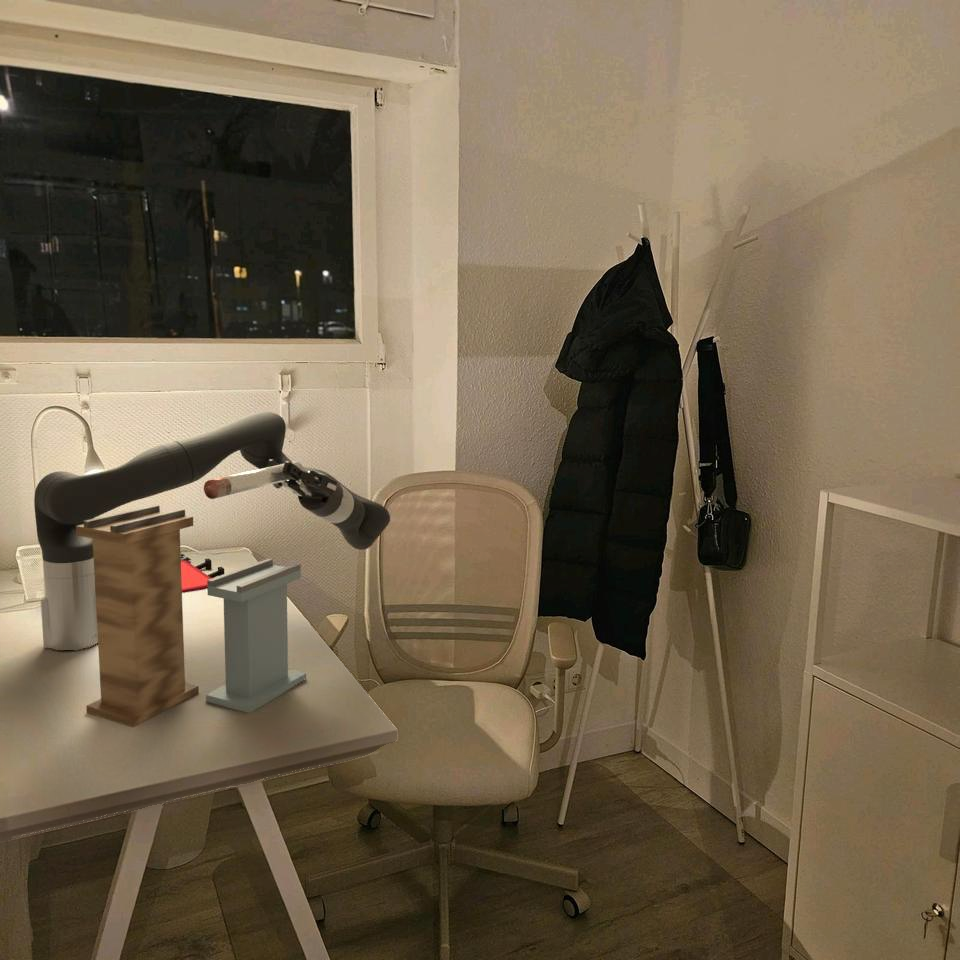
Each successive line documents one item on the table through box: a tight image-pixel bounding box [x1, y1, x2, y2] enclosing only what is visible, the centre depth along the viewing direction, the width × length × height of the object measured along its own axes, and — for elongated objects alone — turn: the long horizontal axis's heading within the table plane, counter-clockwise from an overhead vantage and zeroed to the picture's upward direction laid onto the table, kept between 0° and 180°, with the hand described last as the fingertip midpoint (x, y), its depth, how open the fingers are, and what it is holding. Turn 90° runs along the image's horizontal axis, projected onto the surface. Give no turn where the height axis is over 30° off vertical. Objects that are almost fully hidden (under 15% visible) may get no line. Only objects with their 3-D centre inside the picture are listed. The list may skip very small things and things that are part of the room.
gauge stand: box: [76, 504, 199, 728], centre depth 133 cm, size 14×10×32 cm
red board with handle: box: [181, 553, 225, 593], centre depth 206 cm, size 30×3×15 cm
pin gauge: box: [203, 460, 304, 500], centre depth 140 cm, size 22×3×3 cm, turn 156°
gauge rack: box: [205, 558, 307, 714], centre depth 140 cm, size 15×9×21 cm, turn 155°
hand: (277, 465), depth 145 cm, fingers closed on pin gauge, 3 cm apart
